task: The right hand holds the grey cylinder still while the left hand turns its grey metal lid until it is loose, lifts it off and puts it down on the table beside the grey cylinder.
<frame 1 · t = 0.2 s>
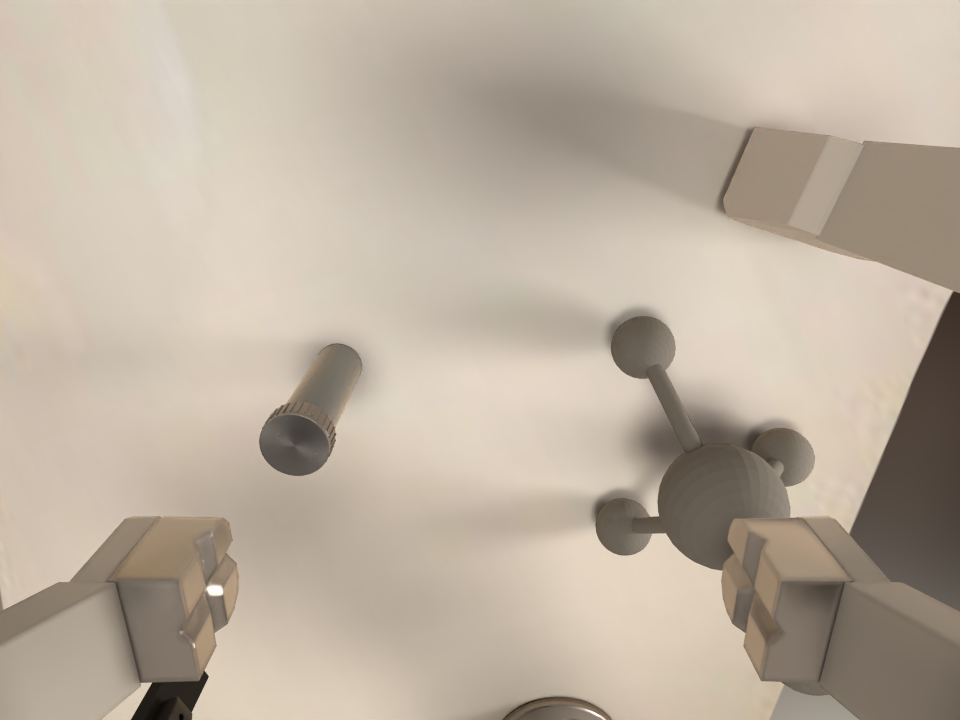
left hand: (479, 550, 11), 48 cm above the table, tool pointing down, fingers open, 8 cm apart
grey cylinder: (339, 364, 61), on the table
molecular model: (661, 446, 64), on the table
electronic device: (795, 191, 55), on the table
lid: (295, 443, 46), point 15 cm above the table, screwed on, not yet turned
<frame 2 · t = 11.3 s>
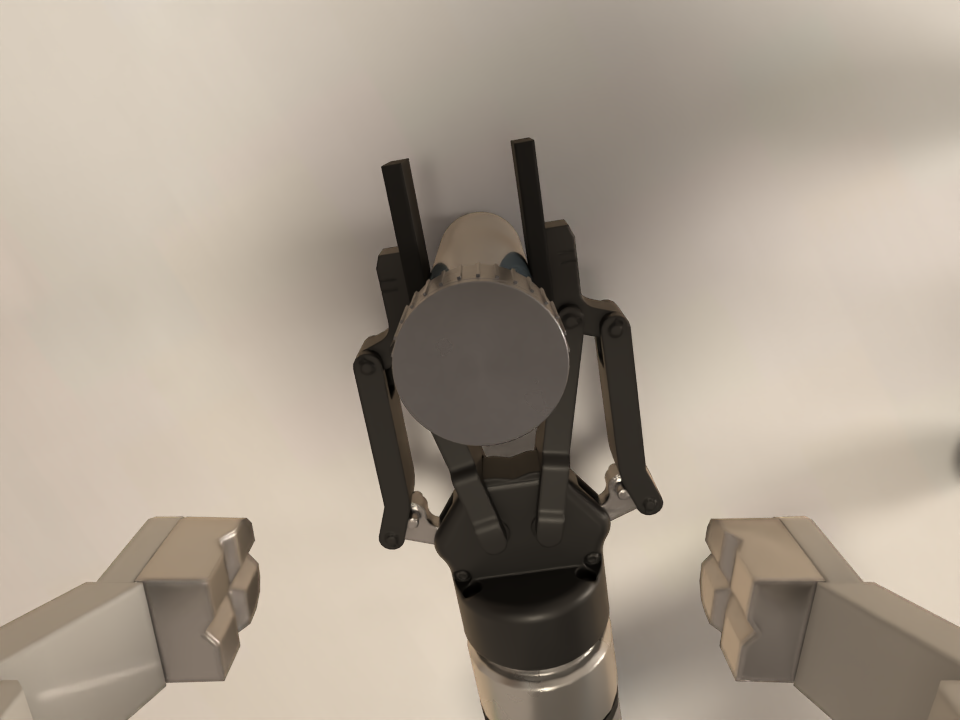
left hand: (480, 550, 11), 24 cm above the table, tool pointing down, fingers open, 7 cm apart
right hand: (458, 152, 25), fingers closed on grey cylinder, 4 cm apart
grey cylinder: (480, 253, 33), on the table, touching right hand
lid: (480, 363, 18), point 15 cm above the table, screwed on, not yet turned
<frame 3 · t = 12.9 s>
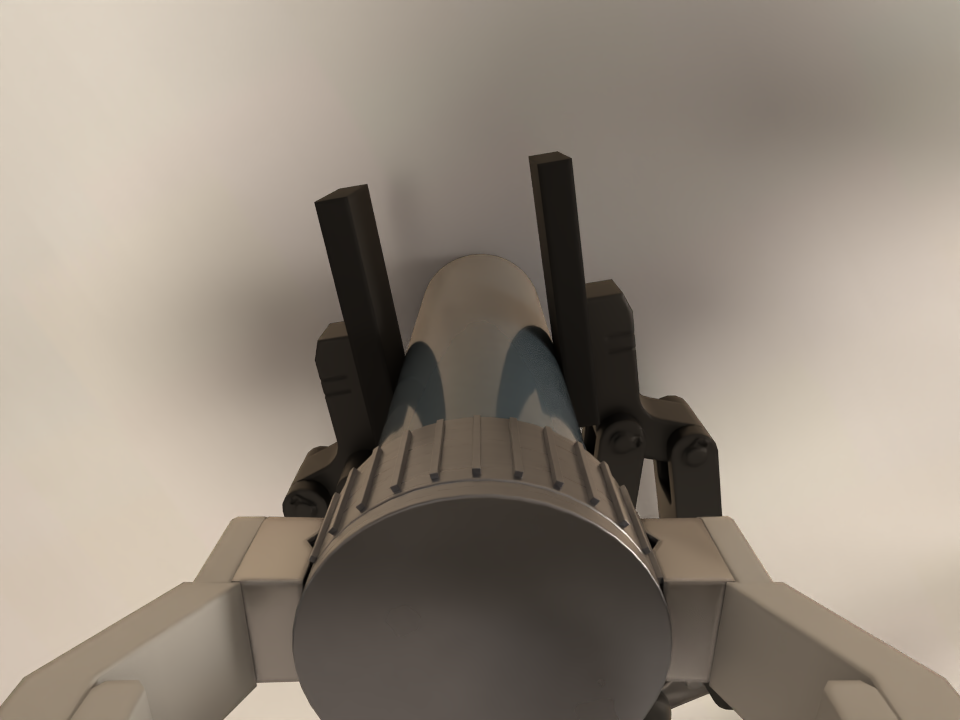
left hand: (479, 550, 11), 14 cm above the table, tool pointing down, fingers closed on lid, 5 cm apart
grey cylinder: (480, 311, 23), on the table, touching right hand
lid: (482, 638, 9), point 15 cm above the table, screwed on, not yet turned, touching left hand
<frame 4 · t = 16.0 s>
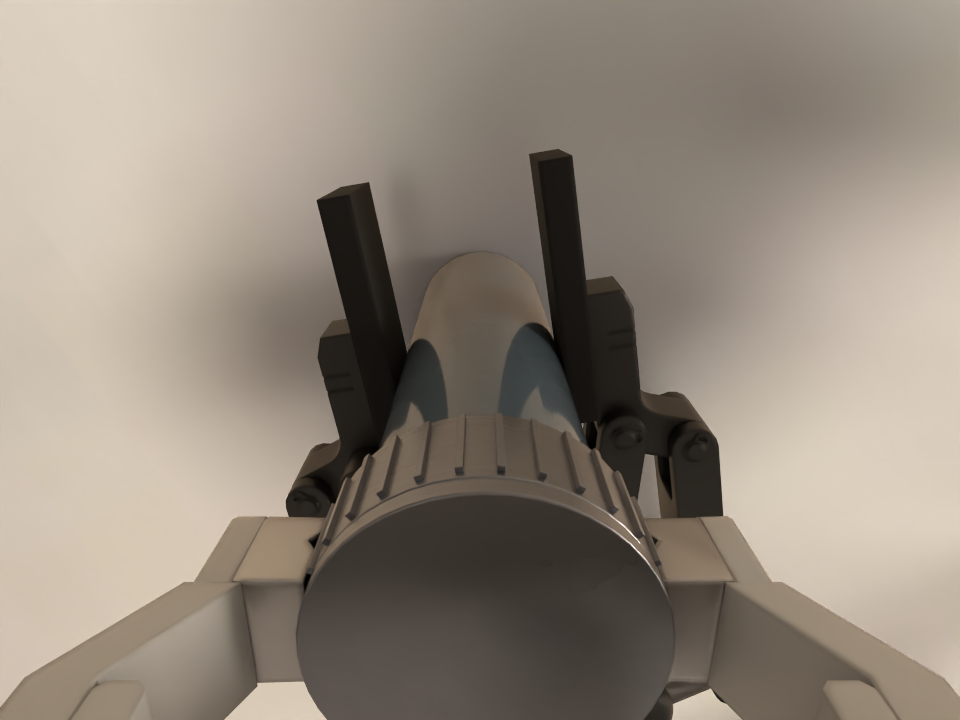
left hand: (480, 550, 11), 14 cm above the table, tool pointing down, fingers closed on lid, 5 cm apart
grey cylinder: (481, 309, 23), on the table, touching right hand
lid: (485, 635, 9), point 16 cm above the table, turned 78° so far, risen 0.1 cm, still on its thread, touching left hand
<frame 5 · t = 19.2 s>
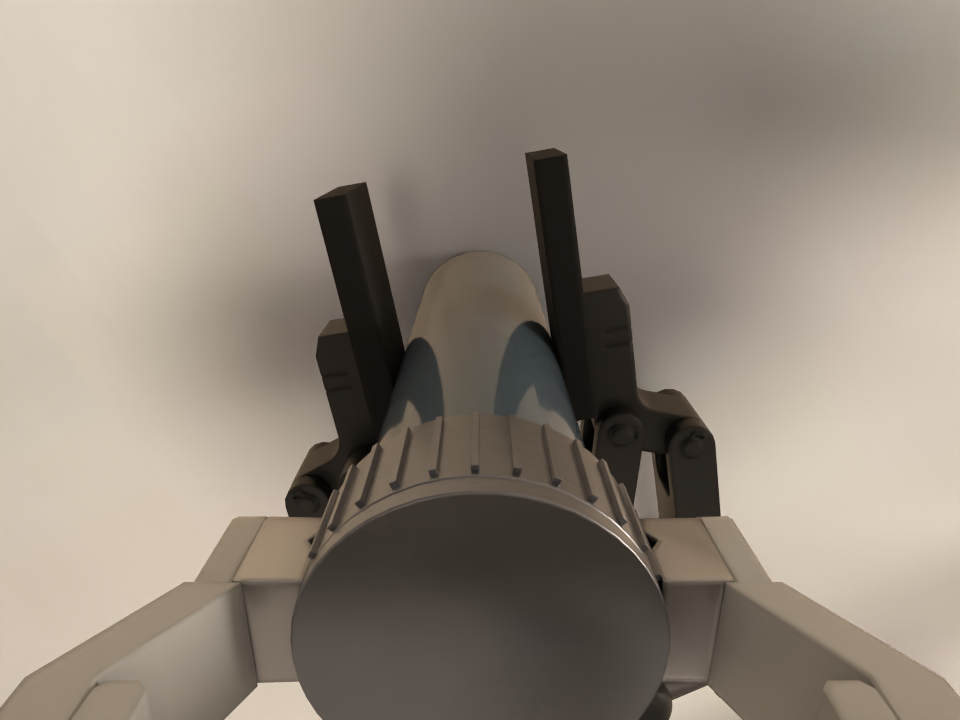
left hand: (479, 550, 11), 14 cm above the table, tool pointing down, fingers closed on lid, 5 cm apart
grey cylinder: (480, 308, 23), on the table, touching right hand
lid: (480, 634, 9), point 16 cm above the table, turned 155° so far, risen 0.2 cm, still on its thread, touching left hand
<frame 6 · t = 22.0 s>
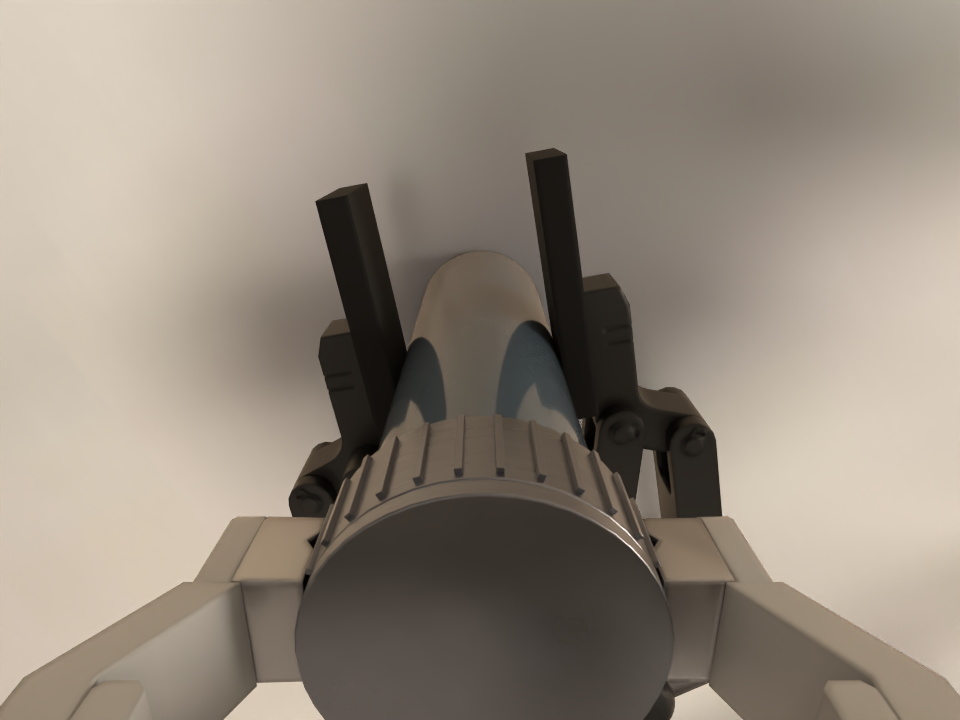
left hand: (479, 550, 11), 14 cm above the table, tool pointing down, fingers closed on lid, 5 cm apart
grey cylinder: (481, 308, 24), on the table, touching right hand
lid: (484, 636, 9), point 16 cm above the table, turned 233° so far, risen 0.3 cm, still on its thread, touching left hand
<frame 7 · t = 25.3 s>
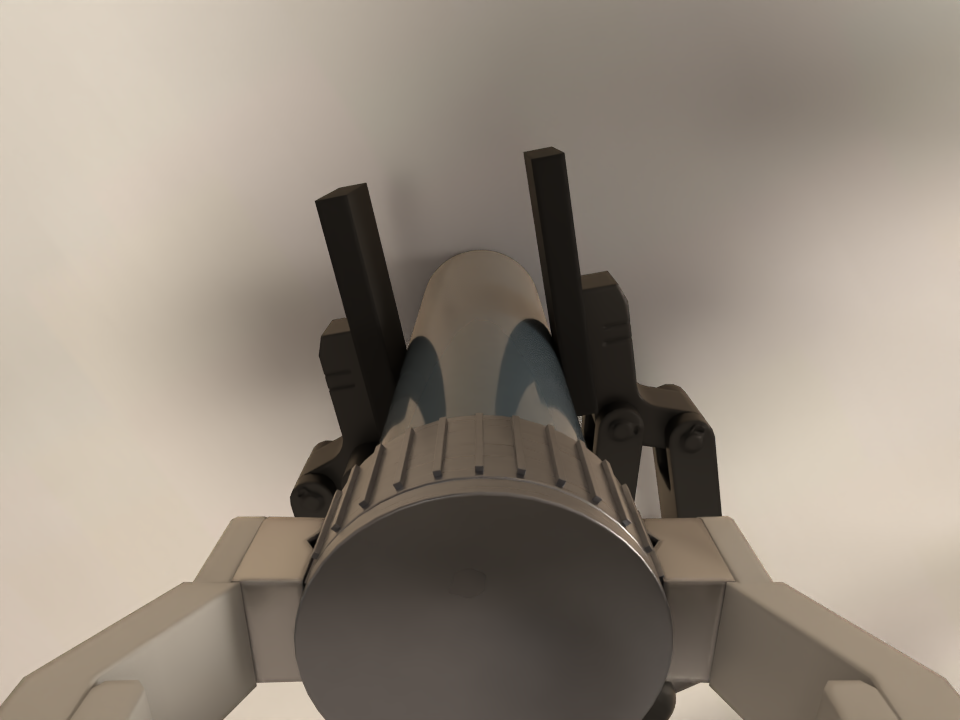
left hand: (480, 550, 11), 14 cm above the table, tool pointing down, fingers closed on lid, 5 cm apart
grey cylinder: (480, 306, 24), on the table, touching right hand
lid: (483, 635, 9), point 16 cm above the table, turned 310° so far, risen 0.4 cm, still on its thread, touching left hand
when the left hand's fingers open (2 cm above the table, at t = 30.7 s): lid drops 2 cm, point 2 cm above the table.
when the right hand's fingers open (6 cm above the table, at t = 31.6 s): grey cylinder stays where it is, on the table.
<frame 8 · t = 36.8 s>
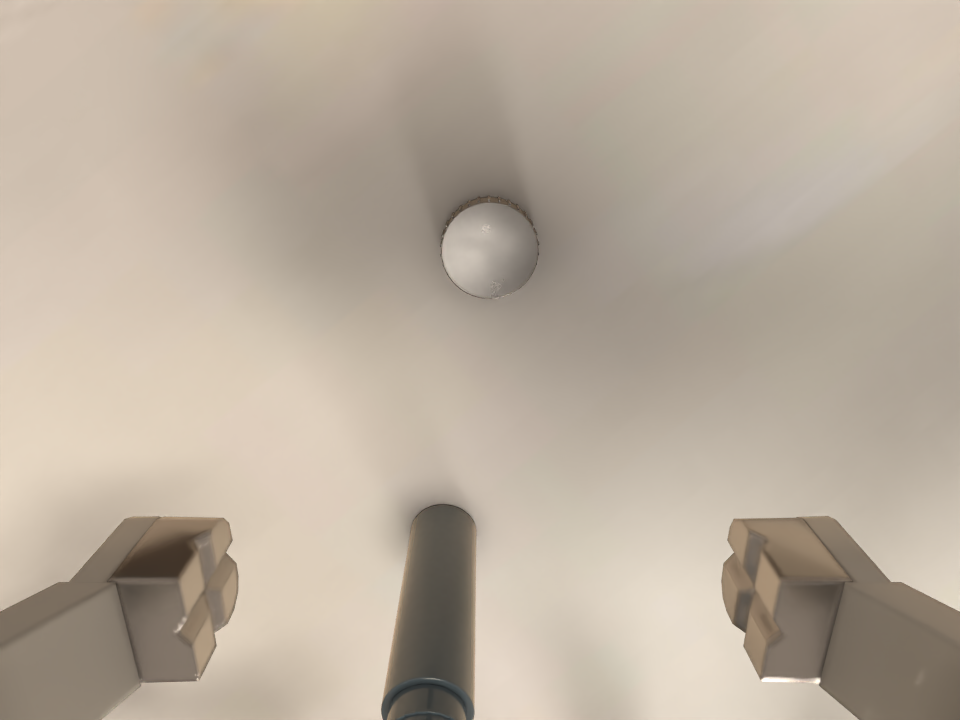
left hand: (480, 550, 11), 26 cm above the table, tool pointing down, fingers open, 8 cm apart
grey cylinder: (443, 532, 42), on the table
lid: (489, 250, 33), point 2 cm above the table, off its thread
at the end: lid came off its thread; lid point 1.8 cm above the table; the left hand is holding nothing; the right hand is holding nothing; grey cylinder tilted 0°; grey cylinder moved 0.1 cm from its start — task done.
